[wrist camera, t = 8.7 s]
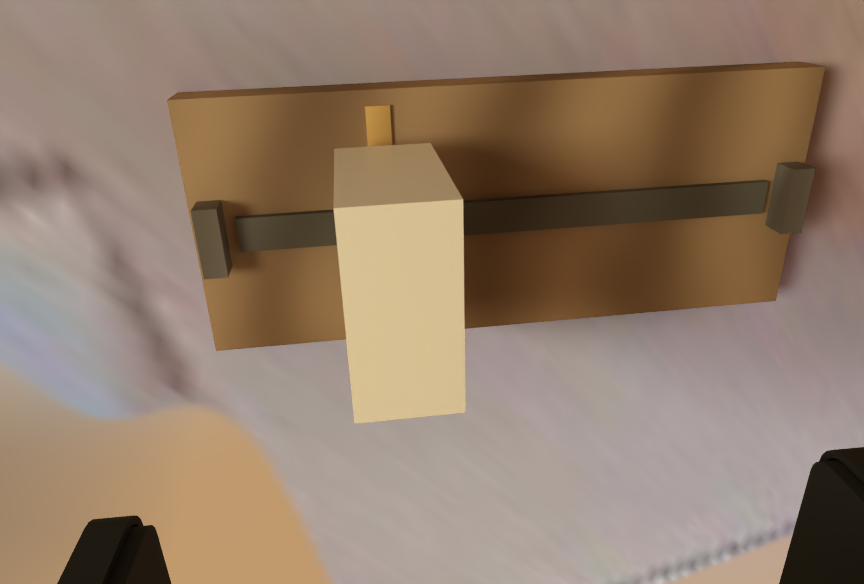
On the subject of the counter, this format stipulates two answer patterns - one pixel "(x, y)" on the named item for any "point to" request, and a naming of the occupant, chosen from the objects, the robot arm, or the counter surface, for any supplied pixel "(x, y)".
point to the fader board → (509, 190)
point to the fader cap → (401, 281)
